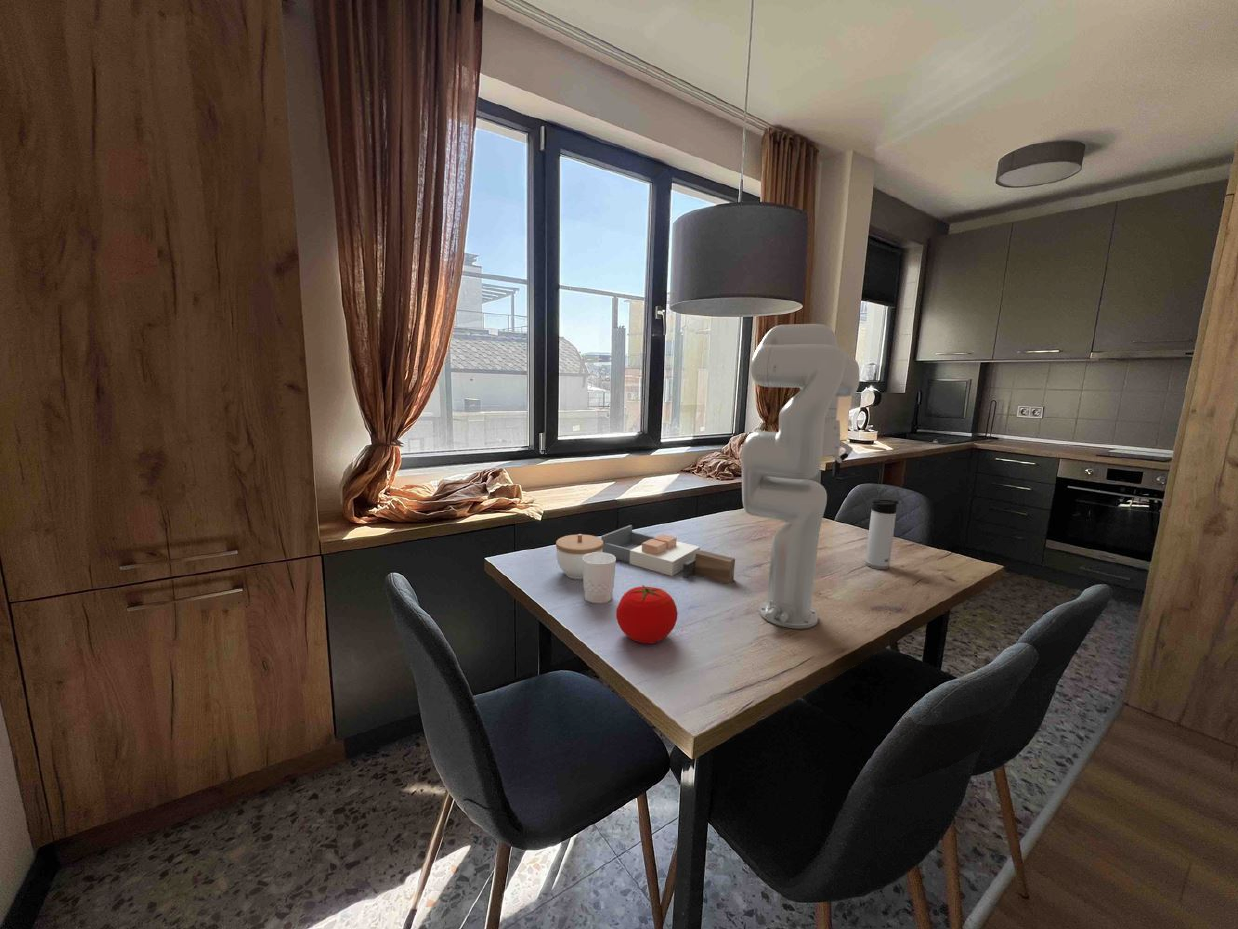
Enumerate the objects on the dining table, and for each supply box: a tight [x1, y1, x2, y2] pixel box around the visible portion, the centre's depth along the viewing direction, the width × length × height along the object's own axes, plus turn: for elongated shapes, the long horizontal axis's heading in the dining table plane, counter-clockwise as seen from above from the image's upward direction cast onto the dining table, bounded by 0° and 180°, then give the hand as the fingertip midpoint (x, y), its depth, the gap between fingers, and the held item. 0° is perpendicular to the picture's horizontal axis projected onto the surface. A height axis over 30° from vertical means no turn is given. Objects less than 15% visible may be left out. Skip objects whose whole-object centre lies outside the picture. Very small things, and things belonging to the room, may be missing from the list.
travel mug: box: [864, 499, 900, 570], centre depth 140 cm, size 6×7×20 cm
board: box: [629, 541, 701, 577], centre depth 140 cm, size 16×14×4 cm
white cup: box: [582, 552, 617, 604], centre depth 115 cm, size 8×8×10 cm
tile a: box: [642, 539, 666, 555], centre depth 138 cm, size 5×5×2 cm
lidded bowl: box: [555, 533, 603, 580], centre depth 129 cm, size 13×13×11 cm
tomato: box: [615, 584, 678, 644], centre depth 98 cm, size 11×12×10 cm
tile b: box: [653, 533, 678, 550], centre depth 142 cm, size 5×5×2 cm
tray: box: [600, 524, 656, 565], centre depth 147 cm, size 15×10×6 cm
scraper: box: [682, 549, 736, 584], centre depth 131 cm, size 12×11×6 cm
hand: (816, 474), depth 137 cm, fingers open, 9 cm apart
